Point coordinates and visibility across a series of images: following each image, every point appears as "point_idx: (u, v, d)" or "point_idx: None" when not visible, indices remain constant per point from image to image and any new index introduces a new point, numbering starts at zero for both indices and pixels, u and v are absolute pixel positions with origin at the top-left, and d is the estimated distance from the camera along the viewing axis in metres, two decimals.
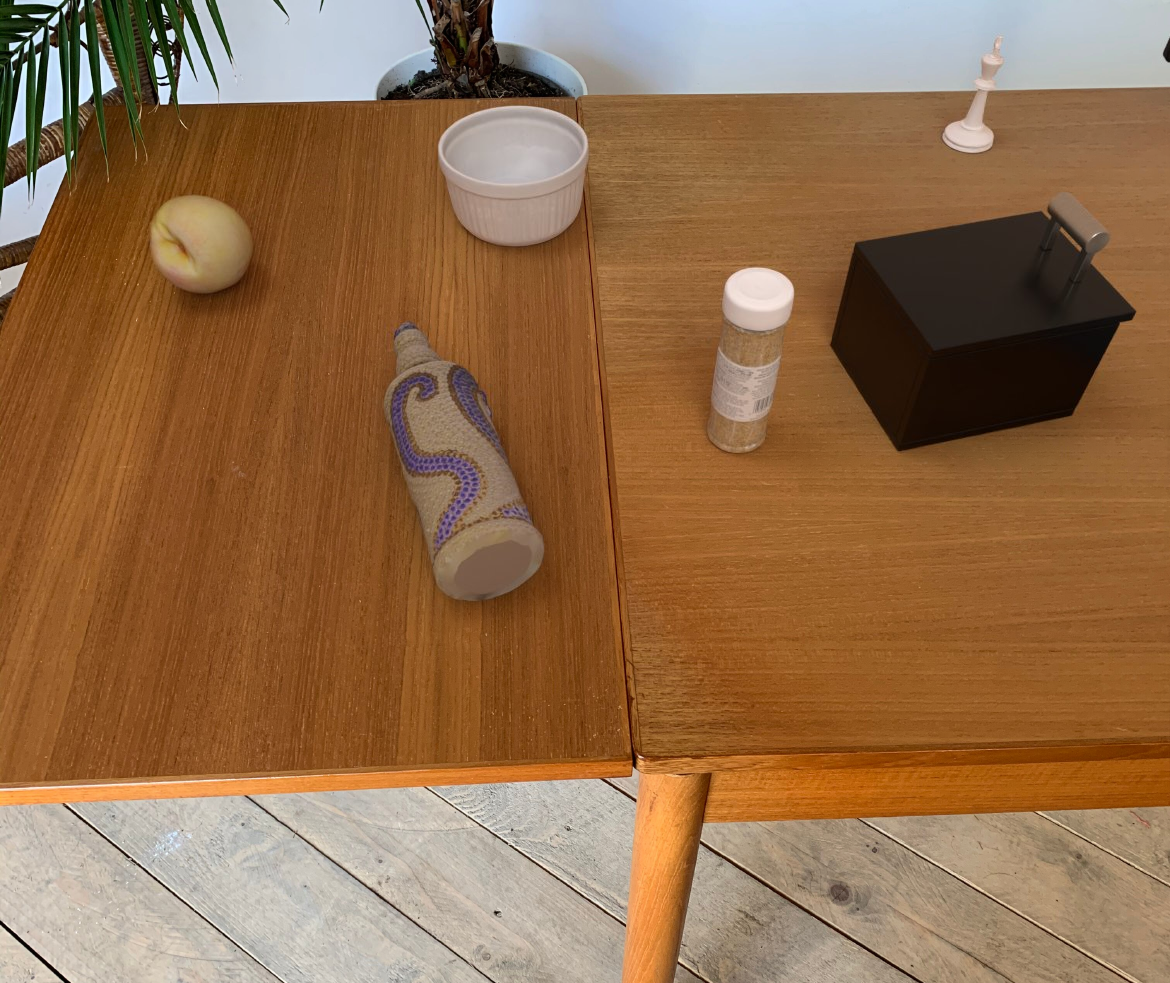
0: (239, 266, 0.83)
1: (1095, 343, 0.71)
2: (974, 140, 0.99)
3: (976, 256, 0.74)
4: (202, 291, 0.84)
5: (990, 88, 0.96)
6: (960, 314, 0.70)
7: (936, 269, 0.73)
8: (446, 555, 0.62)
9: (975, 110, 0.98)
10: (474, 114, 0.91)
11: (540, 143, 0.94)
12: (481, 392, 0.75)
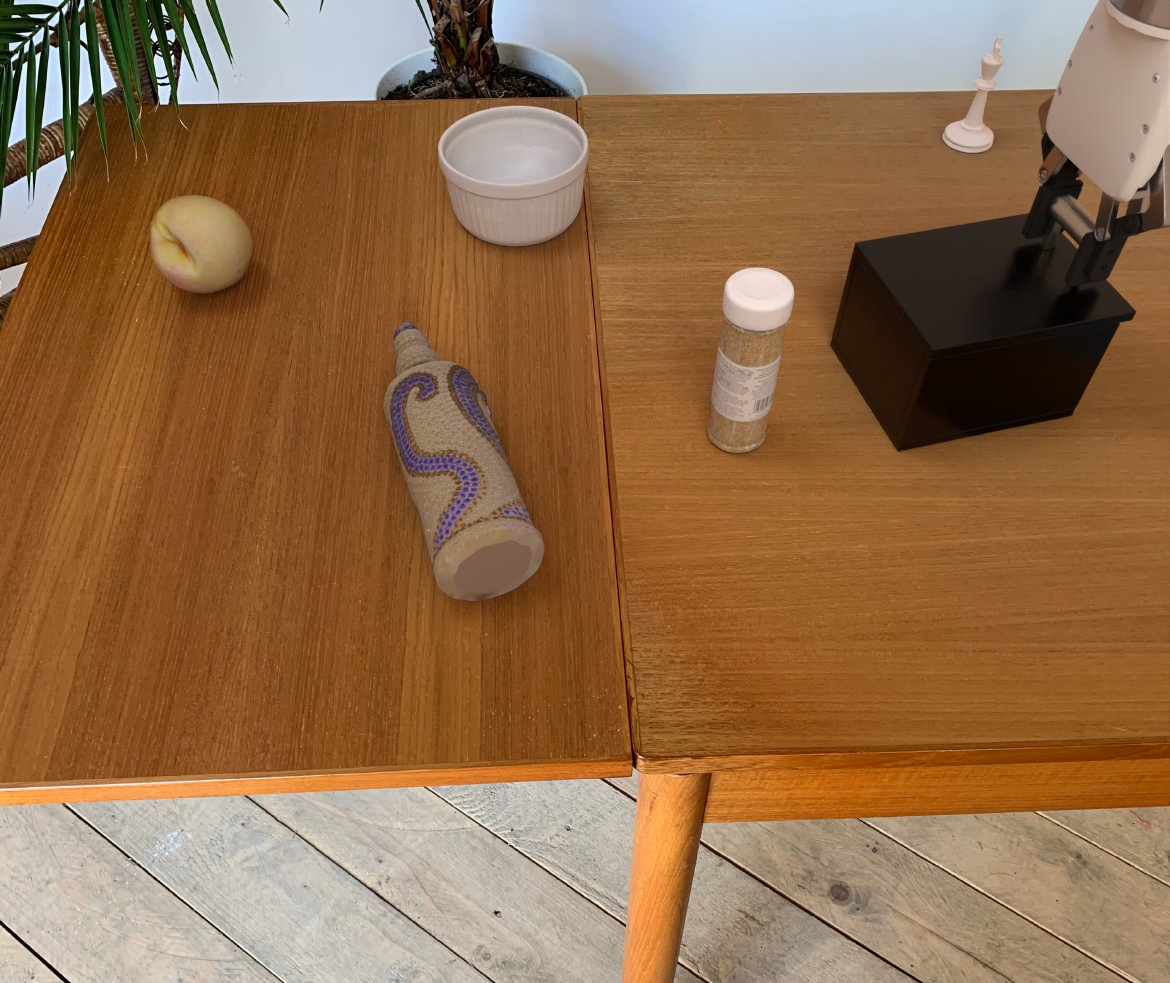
0: (239, 266, 0.83)
1: (1095, 343, 0.71)
2: (974, 140, 0.99)
3: (976, 256, 0.74)
4: (202, 291, 0.84)
5: (990, 88, 0.96)
6: (960, 314, 0.70)
7: (936, 269, 0.73)
8: (446, 555, 0.62)
9: (975, 110, 0.98)
10: (474, 114, 0.91)
11: (539, 143, 0.94)
12: (481, 392, 0.75)
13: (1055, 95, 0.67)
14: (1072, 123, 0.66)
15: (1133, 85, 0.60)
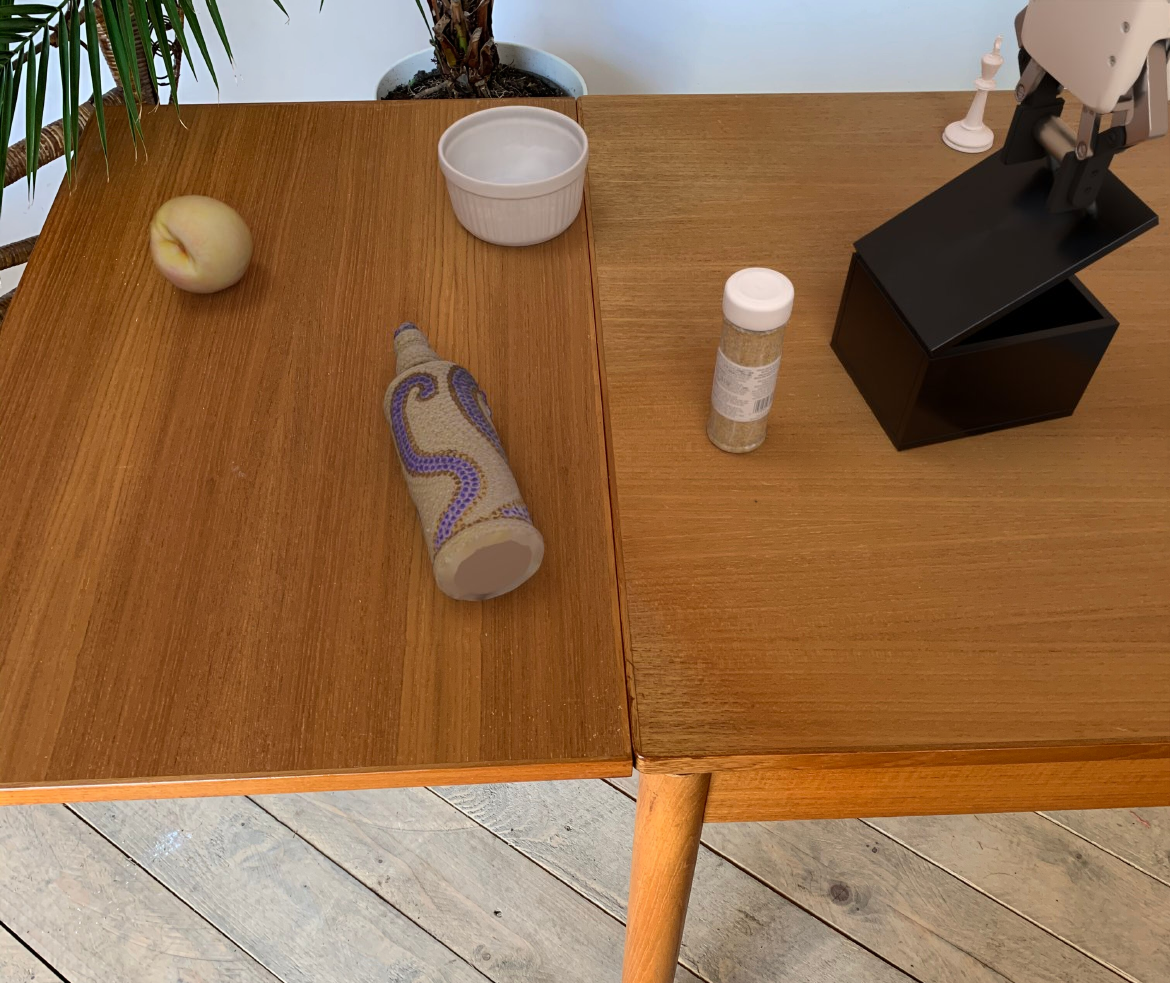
0: (239, 266, 0.83)
1: (1095, 343, 0.71)
2: (974, 140, 0.99)
3: (977, 211, 0.70)
4: (202, 291, 0.84)
5: (990, 88, 0.96)
6: (958, 295, 0.68)
7: (934, 245, 0.71)
8: (446, 555, 0.62)
9: (975, 110, 0.98)
10: (474, 114, 0.91)
11: (539, 143, 0.94)
12: (481, 392, 0.75)
13: (1030, 1, 0.61)
14: (1048, 29, 0.60)
15: None
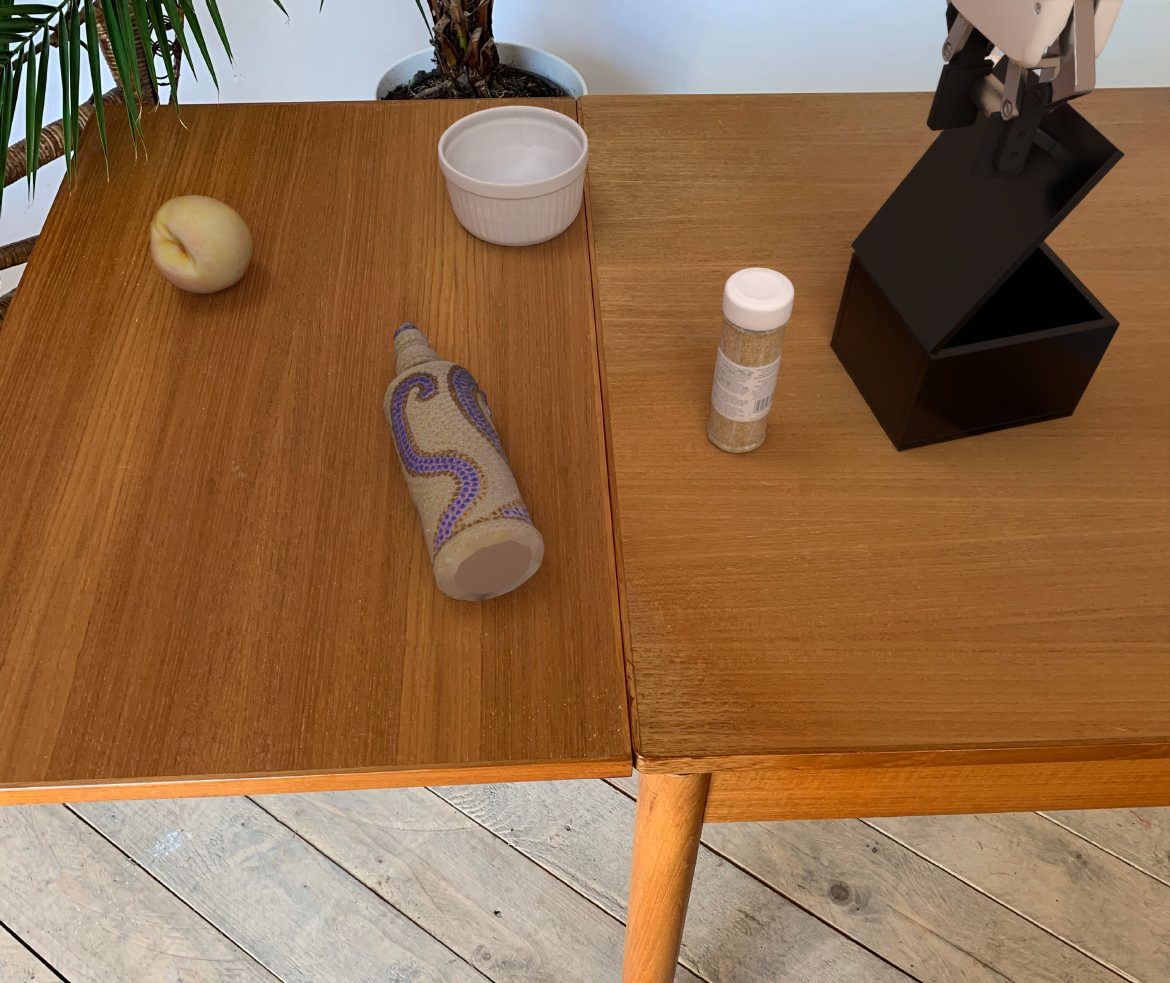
0: (239, 266, 0.83)
1: (1095, 343, 0.71)
2: None
3: (952, 183, 0.68)
4: (202, 291, 0.84)
5: None
6: (945, 285, 0.67)
7: (919, 231, 0.70)
8: (446, 555, 0.62)
9: None
10: (474, 114, 0.91)
11: (539, 143, 0.94)
12: (481, 392, 0.75)
13: None
14: None
15: None
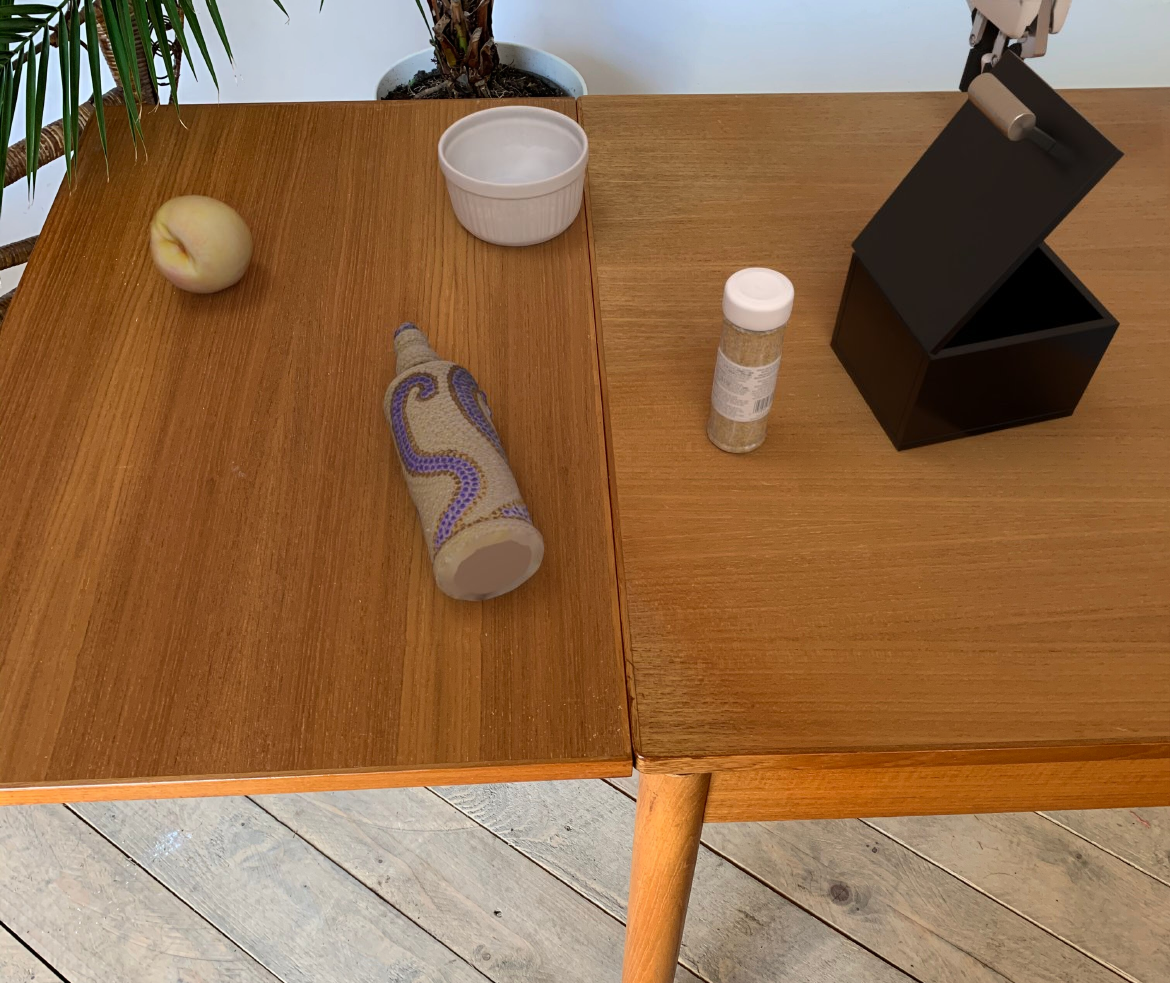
0: (239, 266, 0.83)
1: (1095, 343, 0.71)
2: None
3: (951, 183, 0.68)
4: (202, 291, 0.84)
5: None
6: (945, 285, 0.67)
7: (919, 231, 0.70)
8: (446, 555, 0.62)
9: None
10: (474, 114, 0.91)
11: (539, 143, 0.94)
12: (481, 392, 0.75)
13: None
14: None
15: None
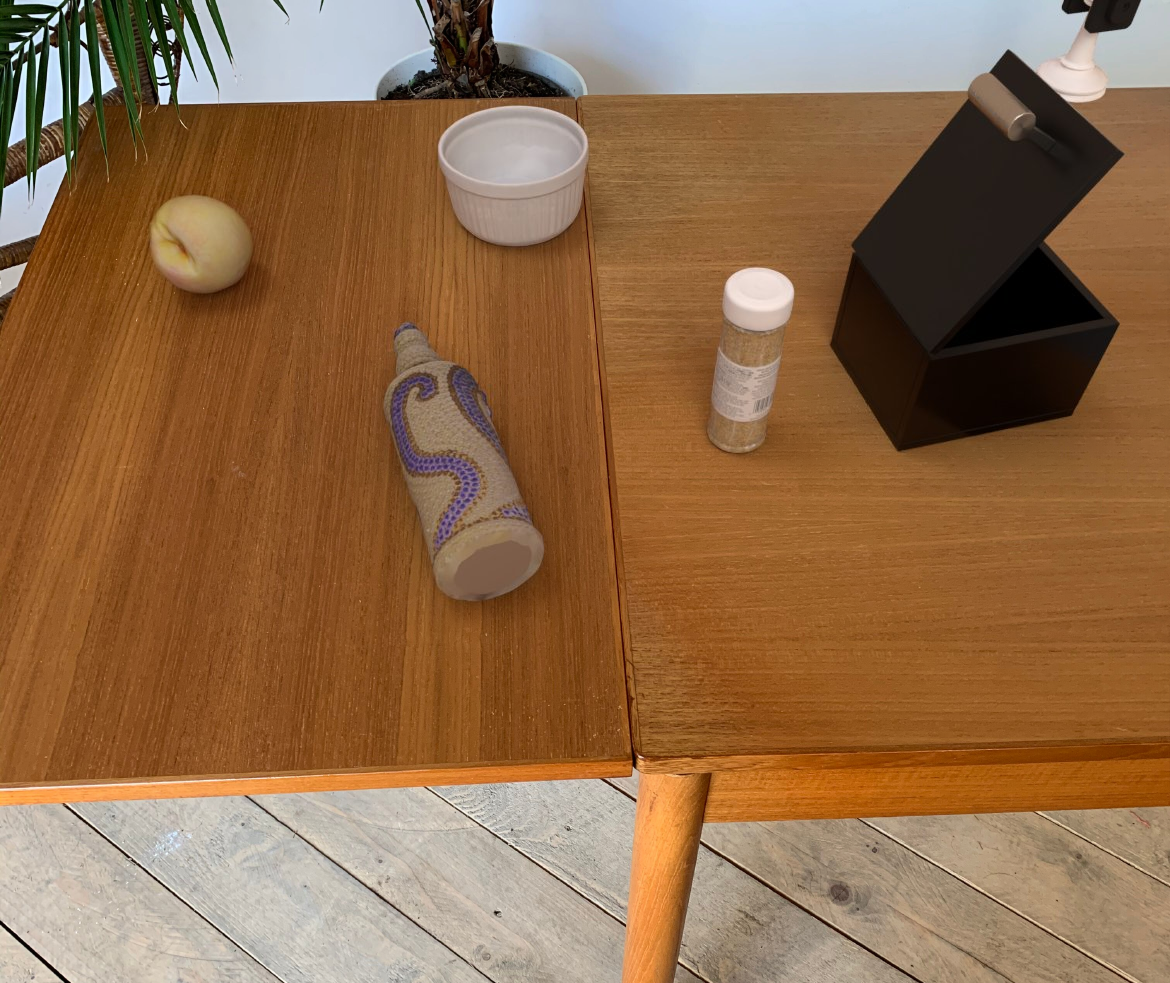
0: (239, 266, 0.83)
1: (1095, 343, 0.71)
2: (1080, 83, 0.69)
3: (951, 183, 0.68)
4: (202, 291, 0.84)
5: None
6: (945, 285, 0.67)
7: (919, 231, 0.70)
8: (446, 555, 0.62)
9: (1085, 40, 0.68)
10: (474, 114, 0.91)
11: (539, 143, 0.94)
12: (481, 392, 0.75)
13: None
14: None
15: None
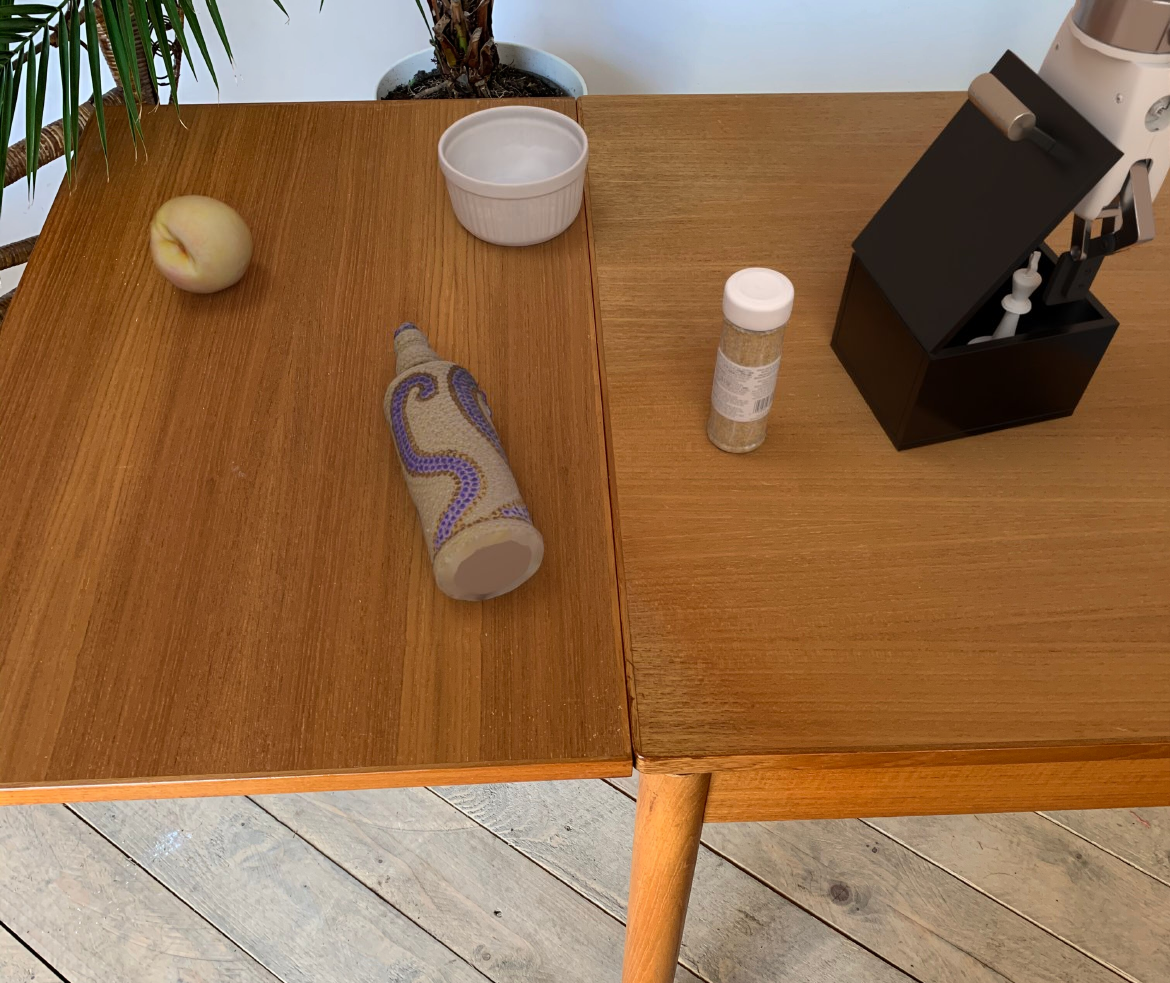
0: (239, 266, 0.83)
1: (1095, 343, 0.71)
2: None
3: (951, 183, 0.68)
4: (202, 291, 0.84)
5: (1024, 310, 0.75)
6: (945, 285, 0.67)
7: (919, 231, 0.70)
8: (446, 555, 0.62)
9: (1004, 333, 0.77)
10: (474, 114, 0.91)
11: (539, 143, 0.94)
12: (481, 392, 0.75)
13: None
14: None
15: (1097, 105, 0.61)
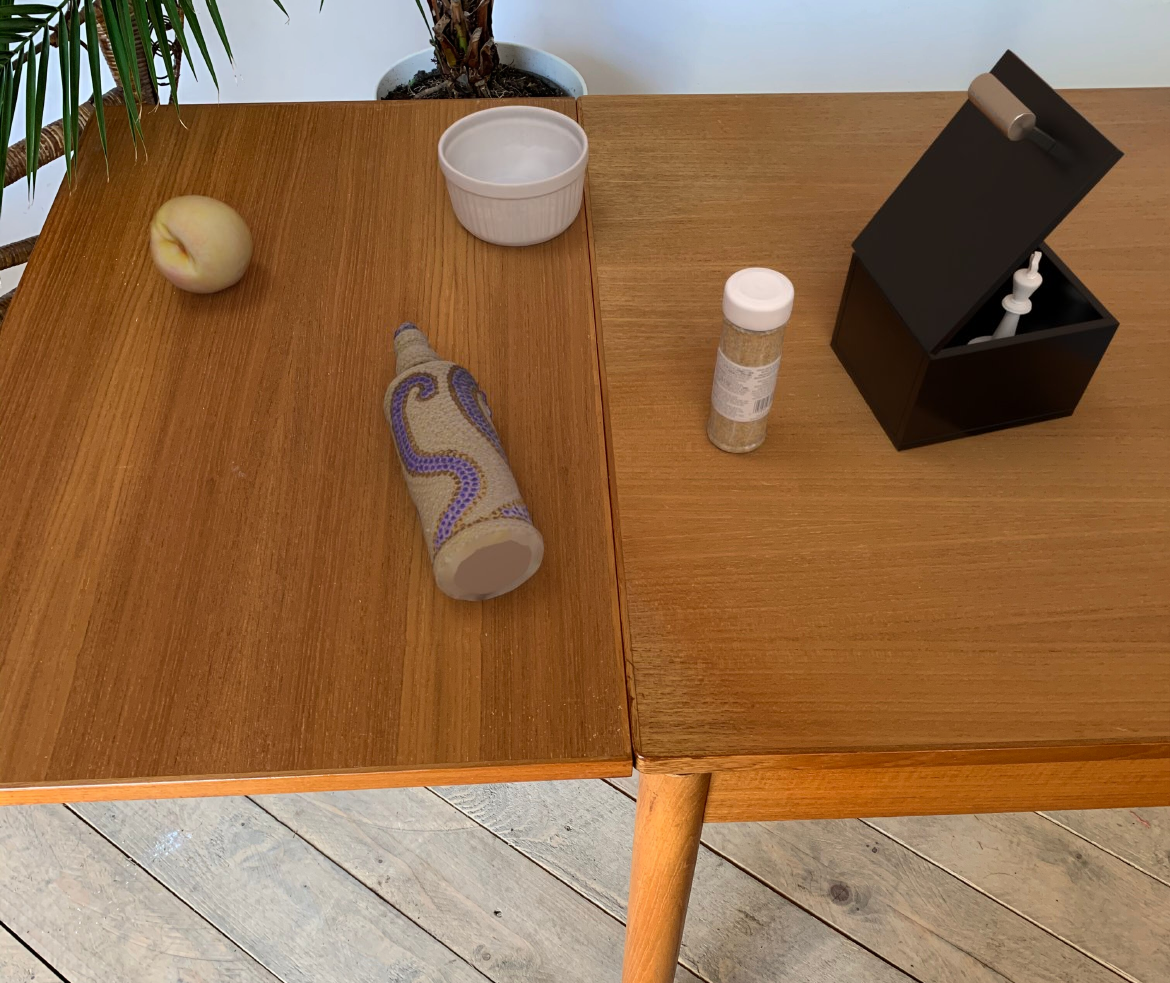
0: (239, 266, 0.83)
1: (1095, 343, 0.71)
2: None
3: (951, 183, 0.68)
4: (202, 291, 0.84)
5: (1024, 311, 0.75)
6: (945, 285, 0.67)
7: (919, 231, 0.70)
8: (446, 555, 0.62)
9: (1004, 333, 0.77)
10: (474, 114, 0.91)
11: (539, 143, 0.94)
12: (481, 392, 0.75)
13: None
14: None
15: None
